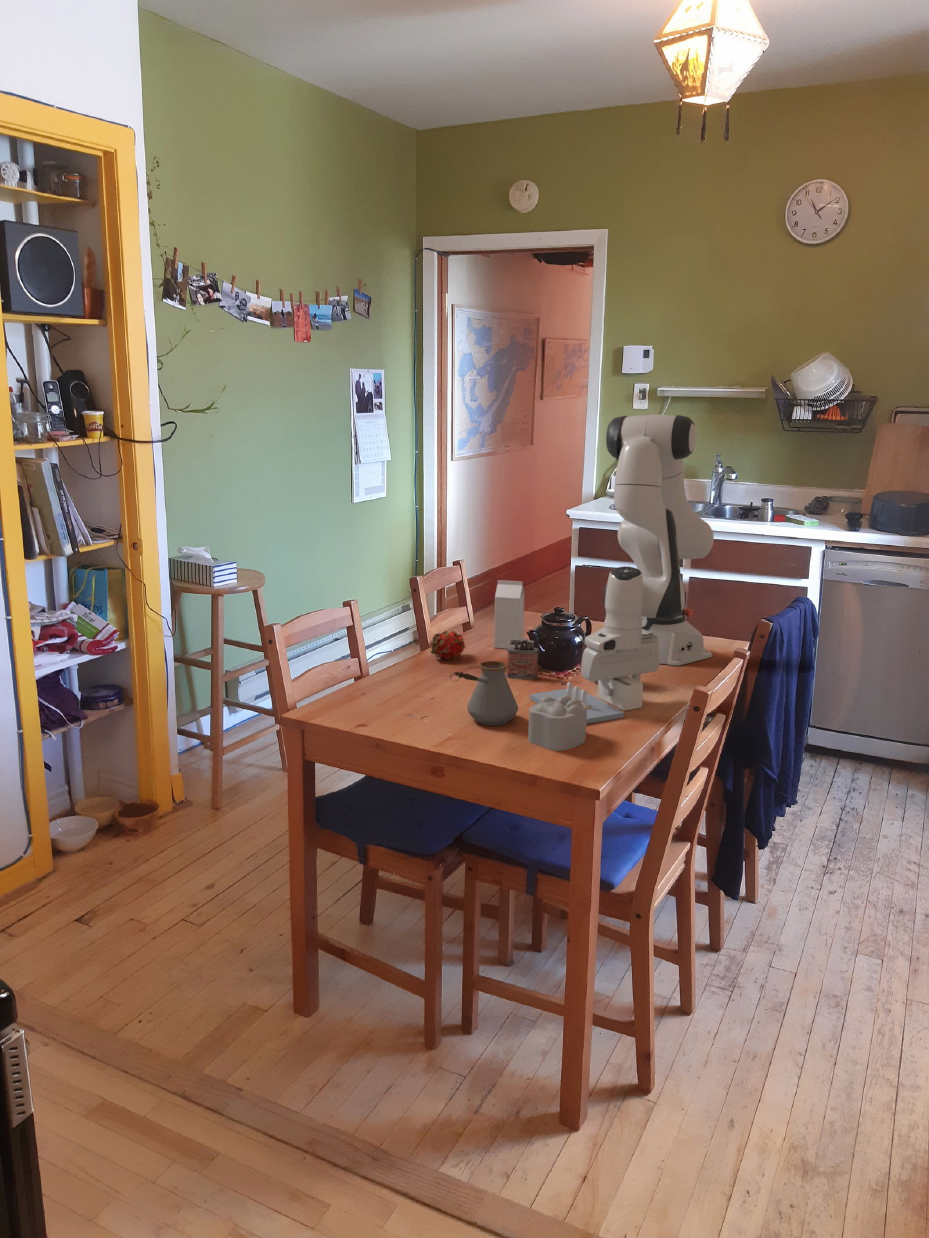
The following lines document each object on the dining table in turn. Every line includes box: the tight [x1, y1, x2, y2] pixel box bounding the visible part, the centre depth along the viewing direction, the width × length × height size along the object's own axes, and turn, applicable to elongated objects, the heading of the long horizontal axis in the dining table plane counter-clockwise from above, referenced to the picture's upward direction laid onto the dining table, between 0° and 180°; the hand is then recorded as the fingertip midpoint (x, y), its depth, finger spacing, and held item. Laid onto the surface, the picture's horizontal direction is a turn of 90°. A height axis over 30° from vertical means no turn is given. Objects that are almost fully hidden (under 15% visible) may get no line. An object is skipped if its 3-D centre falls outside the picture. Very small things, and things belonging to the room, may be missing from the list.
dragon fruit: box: [430, 630, 466, 661], centre depth 260 cm, size 8×8×12 cm
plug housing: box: [596, 676, 644, 712], centre depth 226 cm, size 5×11×6 cm, turn 26°
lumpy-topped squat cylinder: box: [527, 696, 587, 752], centre depth 203 cm, size 10×13×9 cm
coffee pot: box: [449, 660, 519, 726], centre depth 209 cm, size 21×12×15 cm, turn 146°
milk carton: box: [493, 579, 525, 650], centre depth 271 cm, size 7×7×19 cm
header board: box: [529, 681, 625, 725], centre depth 222 cm, size 13×20×5 cm, turn 26°
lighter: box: [506, 638, 540, 680], centre depth 244 cm, size 8×3×10 cm, turn 84°
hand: (619, 693), depth 226 cm, fingers closed on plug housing, 5 cm apart
